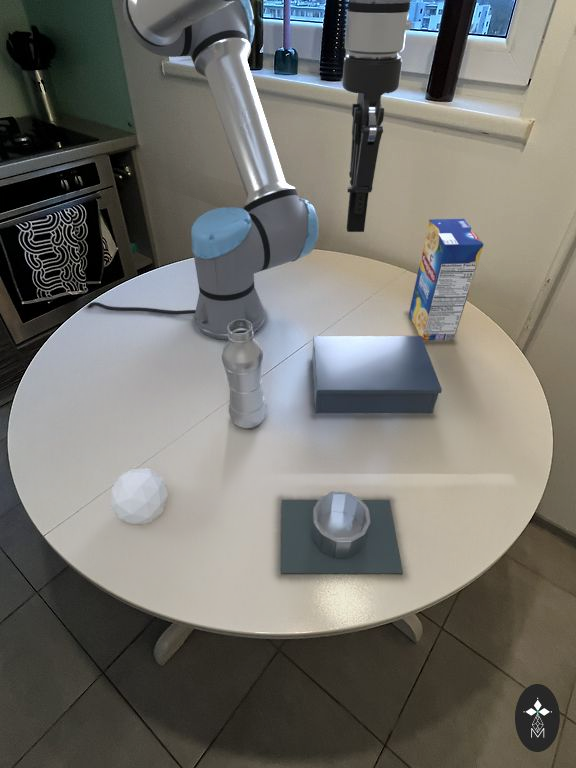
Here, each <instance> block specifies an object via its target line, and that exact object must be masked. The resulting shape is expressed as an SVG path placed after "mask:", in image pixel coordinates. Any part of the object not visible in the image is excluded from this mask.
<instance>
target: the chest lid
mask: <svg viewBox="0 0 576 768" xmlns="http://www.w3.org/2000/svg"><path fill="white" fill-rule="evenodd" d="M313 345H314V360H315V374H316V389H317V393H439V394H442V392H443V389H442V387H441V384H440V381H439V379H438V376H437V374H436V370H435V367H434V366H433V363H432V360H431V357H430V355H429V352H428V350H427V348H426V344H425V342H424V340H423V339H422V336H419V335H313V336H312V346H313Z"/></svg>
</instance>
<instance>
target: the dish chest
mask: <svg viewBox="0 0 576 768" xmlns="http://www.w3.org/2000/svg"><path fill="white" fill-rule="evenodd" d="M311 363H312V364H311V365H312V380H313V381H312V382H313V398H314V413H315V414H433V412H434V410H435V407H436V403H437V400H438V397H439V394H440V393H317V389H316V374H315V360H314V345H313V344H312V354H311Z"/></svg>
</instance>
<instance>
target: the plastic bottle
mask: <svg viewBox="0 0 576 768" xmlns="http://www.w3.org/2000/svg"><path fill="white" fill-rule="evenodd" d="M254 336H255V333H253V327H252V323H251V322H250V321H248V320H245V319H238V320H234V321H232V322H231V323H230V324H229V325H228V339H229V340H227V342H226V343H225V345H224V347H223V348H222V352H221V361H222V365H223V368H224V371H225V374H226V379H227V382H228V387H229V402H228V414H229V417H230V420H231V422H232V423H234V425H235V426H238V427H239V428H241V429H252V428H256V427H257V426H258V425H260V424H261V423H263V422H264V420H265V418H266V414H267V409H268V408H267V407H268V406H267V402H266V398H265V395H264V392H263V386H262V370H263V362H264V361H263V360H264V352H263V349H262V346H261V345H260V343H259V341H257V340H256V339H255V338H254Z"/></svg>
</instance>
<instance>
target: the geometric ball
mask: <svg viewBox="0 0 576 768" xmlns="http://www.w3.org/2000/svg"><path fill="white" fill-rule="evenodd" d="M168 497H169V492H168V486H167V484H166V481H165V480H164V478H163V477H162V476H161V475H159V474H158V473H157V472H155V471H154V470H152V469H151V468H149V467H145V468H144V467H143V468H142V467H141V468H130V469H128V470H127V471H125V472H124V473H123V474H122V475H120V476H119V477H118V478H117V479H116V480H115V482H114V484H113V485H112V487H111V489H110V501H109V506H110V508H111V510H112V511H113V512H114V513H115V515H116V516H117V518H118V519H119V520H120V521H123V522H125V523H127V524H129V525H148V524H150V522H152V521H153V520H154V519H156V518H157V517H159V516H160V515H161V514H163V511H164V509H165V507H166V503H167V500H168Z"/></svg>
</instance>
